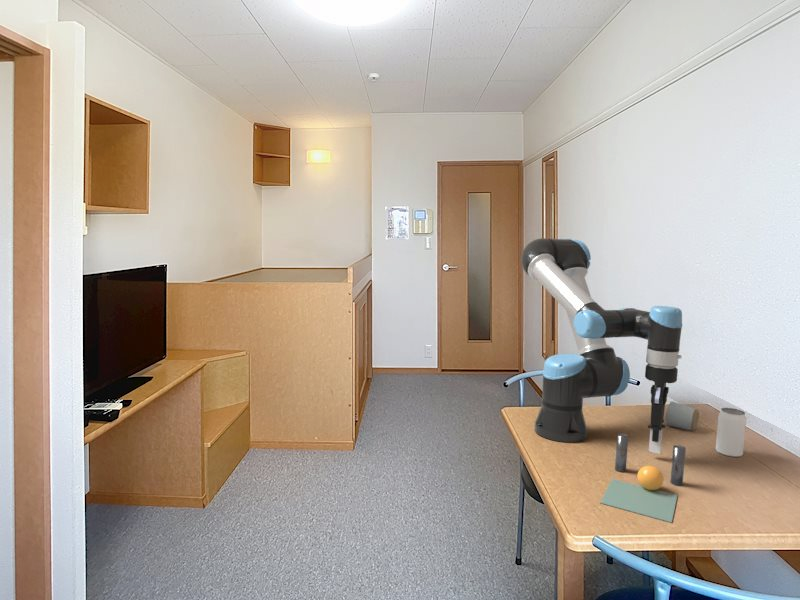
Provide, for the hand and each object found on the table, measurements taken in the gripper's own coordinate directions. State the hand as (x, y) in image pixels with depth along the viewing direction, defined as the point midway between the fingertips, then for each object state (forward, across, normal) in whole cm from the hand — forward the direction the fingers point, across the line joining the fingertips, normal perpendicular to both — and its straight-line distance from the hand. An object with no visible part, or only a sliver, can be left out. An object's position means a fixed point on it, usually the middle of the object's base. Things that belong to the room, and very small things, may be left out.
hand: (654, 451), depth 138 cm
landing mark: (+2, -27, 0) cm, 27 cm away
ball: (-1, -20, -1) cm, 20 cm away
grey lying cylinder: (+2, +33, -4) cm, 34 cm away
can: (+2, +17, -17) cm, 24 cm away
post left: (+2, -13, +6) cm, 15 cm away
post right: (+2, -13, -6) cm, 15 cm away
